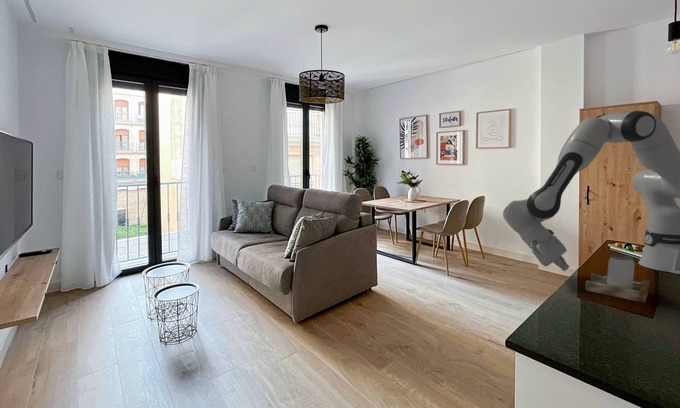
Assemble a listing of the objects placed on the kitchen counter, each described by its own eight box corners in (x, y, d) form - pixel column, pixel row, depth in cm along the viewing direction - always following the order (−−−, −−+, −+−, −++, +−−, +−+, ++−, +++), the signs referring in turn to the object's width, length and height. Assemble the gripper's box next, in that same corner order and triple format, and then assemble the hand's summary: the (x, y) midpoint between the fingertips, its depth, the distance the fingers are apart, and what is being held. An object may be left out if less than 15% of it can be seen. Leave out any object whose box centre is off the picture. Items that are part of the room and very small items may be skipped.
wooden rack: (585, 290, 111) (585, 278, 111) (591, 281, 119) (592, 270, 118) (645, 303, 101) (646, 290, 100) (648, 292, 108) (649, 281, 107)
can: (635, 297, 105) (639, 261, 103) (610, 295, 107) (613, 259, 106) (627, 290, 111) (630, 255, 109) (603, 287, 113) (606, 253, 111)
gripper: (536, 238, 116) (567, 271, 110) (552, 229, 130) (581, 258, 124) (521, 248, 120) (551, 281, 114) (539, 238, 134) (566, 267, 128)
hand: (567, 269), depth 119 cm, fingers closed
